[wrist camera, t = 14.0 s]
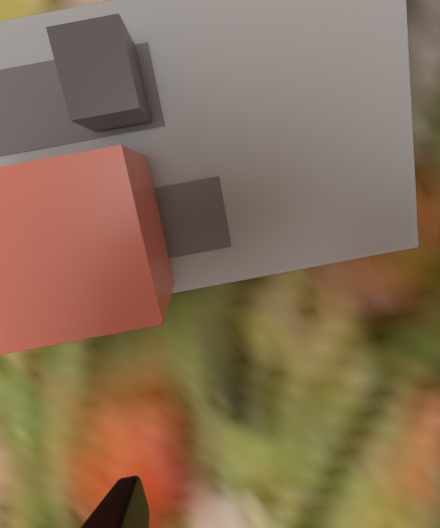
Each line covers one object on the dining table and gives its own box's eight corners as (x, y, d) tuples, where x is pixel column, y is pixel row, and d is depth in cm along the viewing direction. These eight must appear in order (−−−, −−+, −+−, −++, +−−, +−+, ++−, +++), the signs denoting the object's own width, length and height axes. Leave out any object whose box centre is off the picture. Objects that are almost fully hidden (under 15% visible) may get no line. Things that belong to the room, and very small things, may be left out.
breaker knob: (135, 46, 15) (119, 13, 12) (151, 121, 16) (139, 107, 13) (76, 57, 15) (45, 26, 12) (95, 132, 16) (70, 120, 13)
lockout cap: (146, 156, 16) (121, 144, 11) (174, 284, 18) (163, 324, 13) (12, 180, 16) (-73, 180, 11) (51, 306, 18) (-9, 356, 13)
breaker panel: (388, -37, 16) (411, -64, 14) (405, 243, 19) (426, 249, 17) (-92, 53, 16) (-129, 37, 14) (1, 319, 19) (-20, 333, 17)
